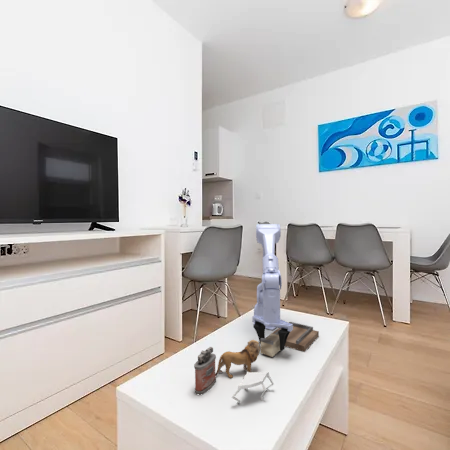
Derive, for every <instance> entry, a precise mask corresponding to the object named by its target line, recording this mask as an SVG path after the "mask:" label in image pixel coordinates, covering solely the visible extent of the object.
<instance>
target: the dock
mask: <svg viewBox="0 0 450 450" xmlns="http://www.w3.org/2000/svg"><path fill="white" fill-rule="evenodd" d="M288 323H291V324H293V330H292V331H291V332H290V333H289V335H288V337H287V340H286V343H285V347H287V348H290V349H293V350H297V351H300V352H302V353H303V352H304V353H305V352H306V351H307V350H308V348H310V346H312V344H313V343H314V342H315V341H316V340H317V339H318V338H319V330H315V329H314V327H313V326H309V325H307V324H302V323H297V322H293V321H289V322H288ZM279 330H281V328H278V327H277V329H276V330H275V329H274V331H272V332H271V333H272V334H276V335H279V334H278V331H279Z"/></svg>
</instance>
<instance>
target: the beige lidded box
mask: <svg viewBox="0 0 450 450" xmlns="http://www.w3.org/2000/svg"><path fill="white" fill-rule="evenodd" d="M272 333H273V332H271V333H270V334H269V335H267V336H265V339H264V338H261V345H260V354H263V355H265V356H268V357H271V358H274V357H275V356H276V355H277V354H278V353H279V352H281V351H280V339H279V335H276V334H272Z"/></svg>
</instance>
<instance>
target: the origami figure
mask: <svg viewBox="0 0 450 450" xmlns="http://www.w3.org/2000/svg"><path fill="white" fill-rule="evenodd" d="M271 377H272V376H271V375H270V371H258V372H257V371H256V372H253V371H250V372H247V371H246V374H245V375H244V376H243V378H242V381H241V382H240V384H239V385H238V386H237V387H238V388H237V390H236V391H235V392H234V394H233V395H232V396H231V398H232V399H234V400H235V401H237V402H236V404H237V405H238V404H239V403H241V402H242V400H241V399H239V398H237V397H236V396H237V395H238V393H240V391H241V390H243V389H244V390H248V389H250V388H254V387H257V386H262V388H263V392H262V394H261V395H260V399H261V401H264V397H263V395H264V394H265V393H266V391H268V392H270V391H271V390H270V389H269V388H270V387H273V386H274V385H275V383H274V381H273V379H272V378H271ZM266 378H267V379H268V380H269V382H270V383H271V384H269V386H267V387H266V386H265V384H264V382H265V380H266Z"/></svg>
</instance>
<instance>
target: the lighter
mask: <svg viewBox="0 0 450 450" xmlns="http://www.w3.org/2000/svg"><path fill="white" fill-rule="evenodd" d="M213 352H214V347H213V346H209V347H208V348H206V349H205V350H201V351H200V353H199V354H198V355H197V361H196V362H195V363H194V365H193V366H194V379H195V381H194V386H195V388H194V393H196V394H195V395H197V394H199V395H198V396H202V395H204V394H206V393H207V392H208V391H210V390H211V389H212V388H213V387H214V386H215V384H216V383H217V378H216V377H217V376H215V374H216V360H217V357H216V355H217V354H215V353H213ZM201 394H202V395H201Z"/></svg>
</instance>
